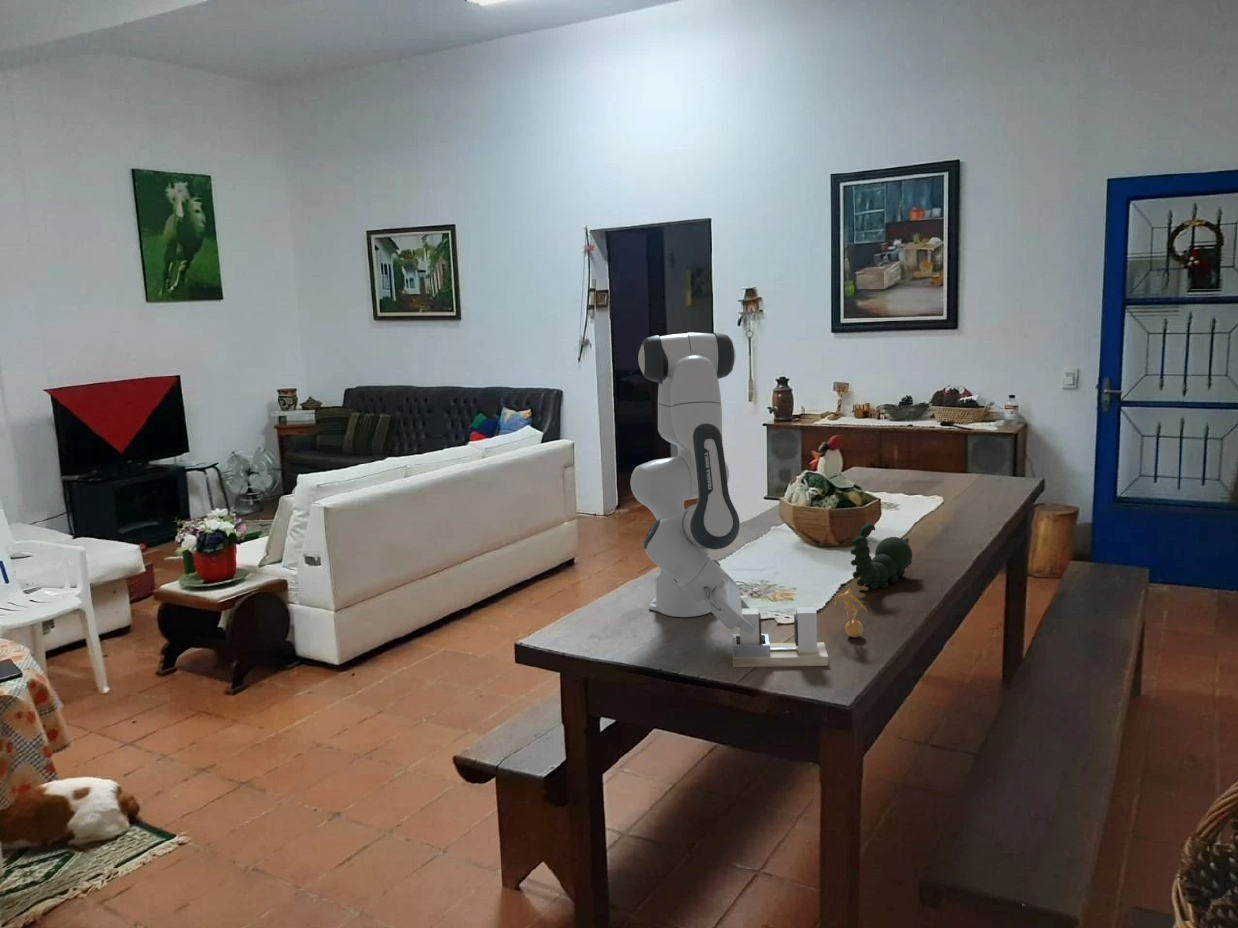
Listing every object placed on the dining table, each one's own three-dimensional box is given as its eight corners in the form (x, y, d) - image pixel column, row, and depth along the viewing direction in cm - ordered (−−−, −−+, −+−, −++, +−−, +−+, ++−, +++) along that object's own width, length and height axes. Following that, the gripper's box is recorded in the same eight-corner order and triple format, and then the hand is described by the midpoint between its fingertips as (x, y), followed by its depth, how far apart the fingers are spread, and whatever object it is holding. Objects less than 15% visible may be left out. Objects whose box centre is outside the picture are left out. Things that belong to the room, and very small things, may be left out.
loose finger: (740, 647, 211) (739, 608, 210) (761, 647, 211) (760, 608, 209) (740, 653, 208) (739, 614, 206) (762, 653, 207) (760, 613, 206)
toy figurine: (876, 604, 243) (925, 570, 260) (872, 533, 238) (922, 504, 255) (844, 596, 250) (893, 564, 266) (839, 528, 245) (890, 499, 261)
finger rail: (732, 652, 214) (730, 605, 212) (823, 650, 212) (823, 603, 210) (733, 666, 206) (731, 618, 204) (828, 665, 204) (827, 616, 202)
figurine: (875, 638, 217) (874, 587, 215) (861, 646, 213) (860, 594, 211) (842, 630, 223) (842, 580, 221) (828, 638, 219) (827, 587, 216)
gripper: (715, 586, 196) (764, 630, 197) (714, 556, 216) (759, 597, 217) (694, 607, 198) (743, 651, 199) (695, 576, 218) (740, 616, 219)
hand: (752, 622), depth 208 cm, fingers open, 8 cm apart
